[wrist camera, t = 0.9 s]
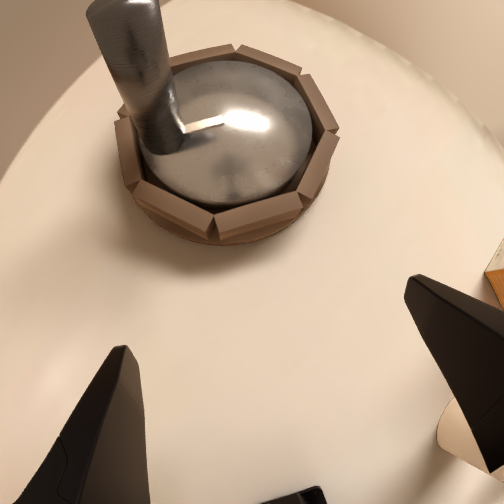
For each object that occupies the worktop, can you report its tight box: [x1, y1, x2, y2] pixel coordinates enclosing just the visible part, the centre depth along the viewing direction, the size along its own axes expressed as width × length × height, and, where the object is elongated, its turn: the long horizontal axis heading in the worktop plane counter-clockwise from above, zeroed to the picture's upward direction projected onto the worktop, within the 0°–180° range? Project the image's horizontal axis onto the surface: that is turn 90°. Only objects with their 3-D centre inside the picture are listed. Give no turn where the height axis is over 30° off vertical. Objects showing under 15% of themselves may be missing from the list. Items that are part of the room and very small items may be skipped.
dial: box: [86, 0, 312, 211], centre depth 15 cm, size 13×13×14 cm
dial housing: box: [114, 44, 340, 245], centre depth 22 cm, size 17×17×4 cm
